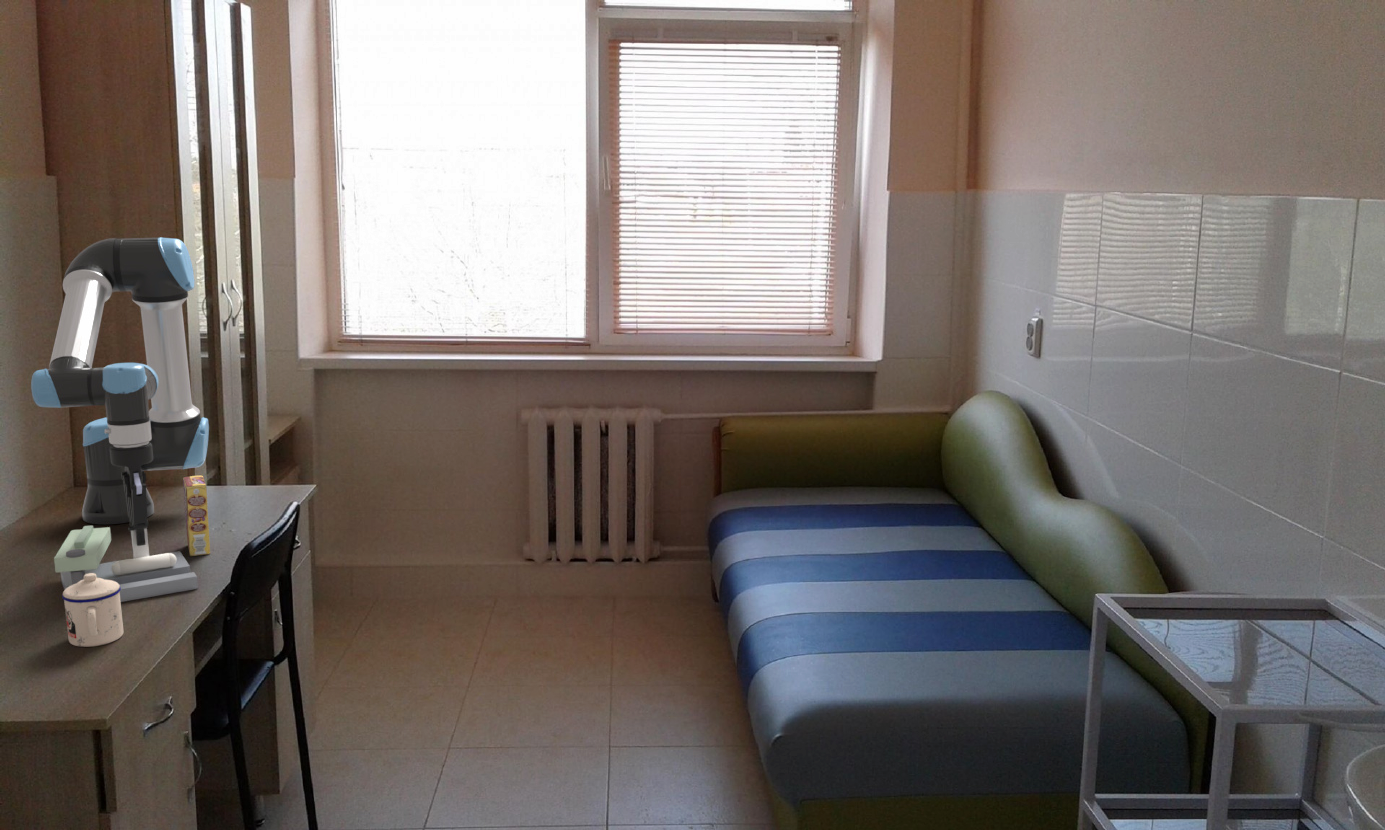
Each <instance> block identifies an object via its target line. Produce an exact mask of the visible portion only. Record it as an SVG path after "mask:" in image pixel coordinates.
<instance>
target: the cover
mask: <svg viewBox="0 0 1385 830" xmlns="http://www.w3.org/2000/svg"><path fill="white" fill-rule="evenodd" d="M111 541H112V533H111V527H110V526H109V527H108V526H107V527H94V525H84V526H83V527H82V529H71V530H70V532H69V533H68V535H67V537H65V540H64V541H63V543H62V544H61V546H60V548H59V549H58V551H57V553H56V555H55V556H54V557H53V562H54V571H55V573H56V574H57V573H61V572H68V571H79V570H91V569H97V568H98V566H99V564H101V562H102V559H103V558H104V555H105V554H106V551H107V550H108V548H109V546H110V544H111Z"/></svg>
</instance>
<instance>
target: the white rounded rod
mask: <svg viewBox="0 0 1385 830" xmlns="http://www.w3.org/2000/svg"><path fill="white" fill-rule="evenodd" d="M120 560H121V559H120ZM120 560H115V561H116V562H115V563H113V565H112V567H111V570H112V572H113V573H114V574H115V575H125V574H131V573H137V572H143V571H149V570H155V569H161V568H167V567H172V566H174V565H175V563H176V561H177V559H176V556H175V555H174V554H172V553H171V552H165V553H159V555H158V554H155V555H154V554H153V556H152V555H149V556H146V557H140V558H134V559H133V558H128V559H127V558H126V559H122V560H121V561H120Z"/></svg>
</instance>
